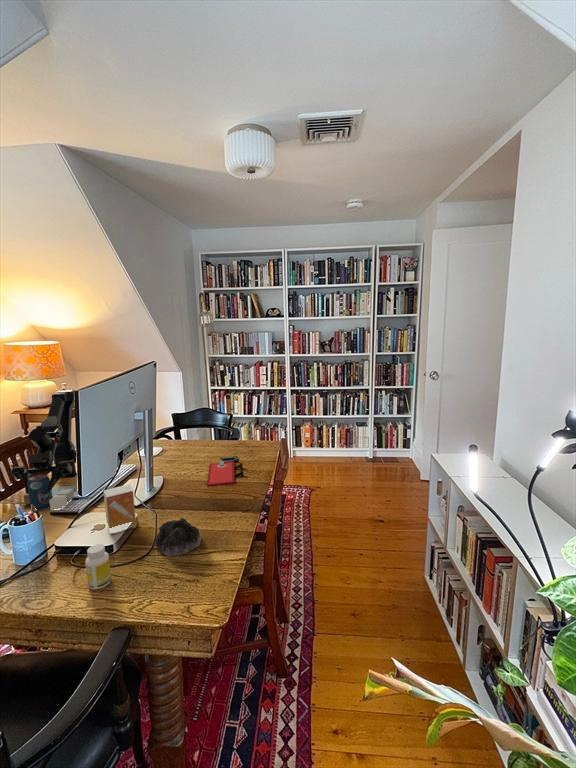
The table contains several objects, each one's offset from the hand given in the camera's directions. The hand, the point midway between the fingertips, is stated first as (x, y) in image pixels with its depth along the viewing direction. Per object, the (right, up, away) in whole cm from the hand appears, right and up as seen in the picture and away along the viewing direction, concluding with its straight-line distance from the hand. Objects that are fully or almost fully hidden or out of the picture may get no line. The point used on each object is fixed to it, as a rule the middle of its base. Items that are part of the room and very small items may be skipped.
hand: (38, 492), depth 135 cm
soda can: (0, -6, +3) cm, 7 cm away
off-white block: (+6, -6, +2) cm, 9 cm away
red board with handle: (+63, 0, +32) cm, 71 cm away
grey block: (+6, -5, +7) cm, 11 cm away
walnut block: (-6, -6, +7) cm, 11 cm away
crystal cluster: (+58, -9, -23) cm, 63 cm away
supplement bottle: (+42, -12, -39) cm, 59 cm away
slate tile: (0, -4, +13) cm, 14 cm away
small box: (+36, -8, -13) cm, 39 cm away
